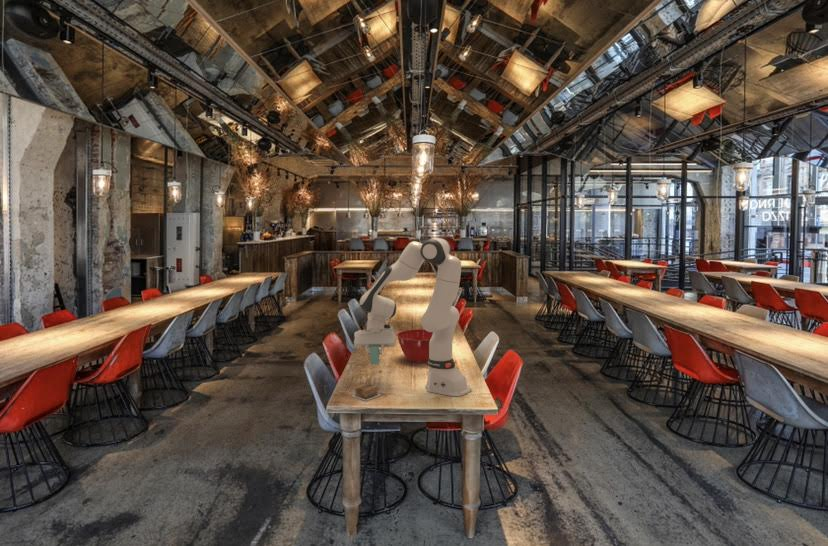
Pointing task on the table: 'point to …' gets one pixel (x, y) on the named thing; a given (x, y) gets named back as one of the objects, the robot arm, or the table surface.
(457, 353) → the table surface
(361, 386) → the base block
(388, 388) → the table surface
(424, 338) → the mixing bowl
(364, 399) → the board
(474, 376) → the table surface
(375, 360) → the pillar
